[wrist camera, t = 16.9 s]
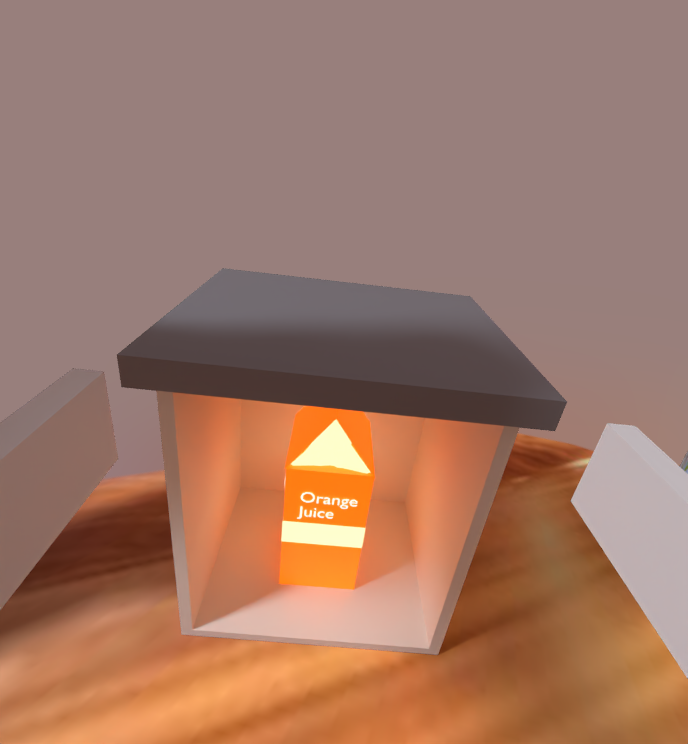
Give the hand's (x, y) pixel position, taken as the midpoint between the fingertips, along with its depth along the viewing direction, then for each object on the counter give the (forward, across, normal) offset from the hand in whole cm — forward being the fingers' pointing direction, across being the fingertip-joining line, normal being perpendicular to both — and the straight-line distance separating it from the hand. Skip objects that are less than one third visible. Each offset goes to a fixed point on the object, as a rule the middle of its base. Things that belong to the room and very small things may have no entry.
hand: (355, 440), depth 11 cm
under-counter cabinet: (+23, 0, -32) cm, 39 cm away
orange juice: (+23, 0, -31) cm, 39 cm away
